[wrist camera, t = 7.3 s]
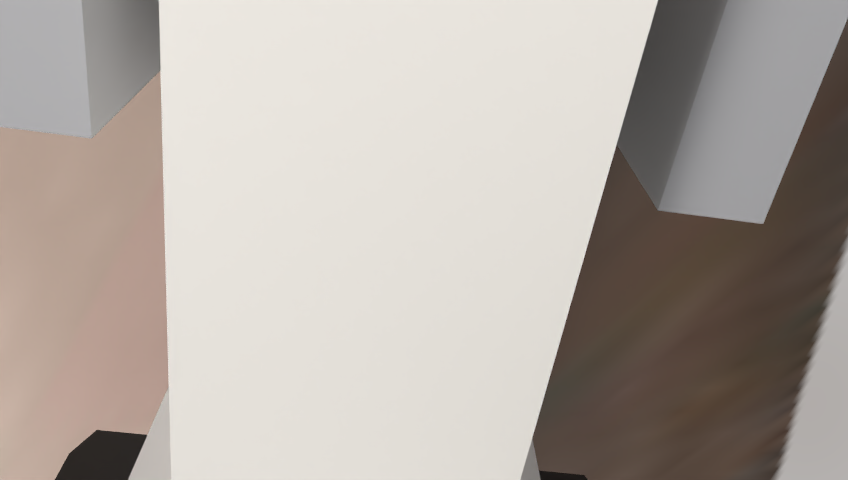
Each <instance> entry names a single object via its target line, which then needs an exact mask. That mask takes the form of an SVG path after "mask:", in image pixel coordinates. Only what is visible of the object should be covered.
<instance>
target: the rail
mask: <svg viewBox="0 0 848 480" xmlns="http://www.w3.org/2000/svg"><path fill="white" fill-rule="evenodd" d="M657 2H658V0H159V27H160V66H161V104H162V143H163V182H164V220H165V259H166V297H167V336H168V374H169V413H170V452H171V480H520V479H521V475H522V472H523V469H524V465H525V462H526V458H527V455H528V451H529V448H530V444H531V441H532V437H533V434H534V430H535V427H536V423H537V420H538V416H539V413H540V409H541V406H542V402H543V399H544V395H545V392H546V388H547V385H548V381H549V378H550V375H551V371H552V368H553V364H554V361H555V357H556V354H557V350H558V347H559V343H560V340H561V336H562V333H563V329H564V326H565V322H566V319H567V315H568V312H569V308H570V305H571V301H572V298H573V294H574V291H575V288H576V284H577V281H578V277H579V274H580V270H581V267H582V263H583V260H584V256H585V253H586V249H587V246H588V242H589V239H590V235H591V232H592V228H593V225H594V221H595V218H596V214H597V211H598V207H599V204H600V201H601V197H602V194H603V190H604V187H605V183H606V180H607V176H608V173H609V169H610V166H611V162H612V159H613V155H614V152H615V148H616V145H617V141H618V138H619V134H620V131H621V127H622V124H623V120H624V117H625V114H626V110H627V107H628V103H629V100H630V96H631V93H632V89H633V86H634V82H635V79H636V75H637V72H638V68H639V65H640V61H641V58H642V54H643V51H644V47H645V44H646V40H647V37H648V33H649V30H650V27H651V23H652V20H653V16H654V13H655V9H656V6H657Z"/></svg>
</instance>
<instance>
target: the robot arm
mask: <svg viewBox="0 0 848 480" xmlns="http://www.w3.org/2000/svg"><path fill="white" fill-rule="evenodd" d="M55 480H171V452H170V413H169V387H168V389H167V392H166V394H165V396H164V399H163V401H162V403H161V405H160V408H159V410H158V412H157V415H156V417H155V419H154V421H153V424H152V426H151V428H150V431H149V433H148V435H142V434H132V433H121V432H111V431H101V430H96V431H95V432H94V433H93V434H92V435H91V436H89V437H88V438H87V439H86V440H85V441H83V442H82V443H81V444H80V445H79V446H78V447H76V448H75V449H74V450H73V451H72V452H71V453H69V455H68V457H67V459H66V461H65V462H64V464H63V466H62V468H61V470H60V471H59V473H58V475H57V477H56V479H55ZM520 480H587V478H586V477H585V476H584V475H576V474H566V473H556V472H546V471H539V469H538V464H537V459H536V454H535V449H534V444H533V439H532V441H531V444H530V448H529V451H528V455H527V458H526V462H525V465H524V469H523V472H522V475H521V479H520Z"/></svg>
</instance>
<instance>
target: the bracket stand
mask: <svg viewBox="0 0 848 480" xmlns="http://www.w3.org/2000/svg"><path fill="white" fill-rule="evenodd" d="M847 19H848V0H658V2H657V6H656V9H655V13H654V16H653V20H652V23H651V27H650V30H649V33H648V37H647V40H646V44H645V47H644V51H643V54H642V58H641V61H640V65H639V68H638V72H637V75H636V79H635V82H634V86H633V89H632V93H631V96H630V100H629V103H628V107H627V110H626V114H625V117H624V120H623V124H622V127H621V131H620V134H619V138H618V141H617V146H618V148H619V149H620V151H621V153H622V154H623V156H624V157H625V159H626V161H627V162H628V164H629V165H630V167H631V169H632V170H633V172H634V173H635V175H636V176H637V178H638V180H639V181H640V183H641V184H642V186H643V188H644V189H645V191H646V192H647V194H648V196H649V197H650V199H651V200H652V202H653V204H654V205H655V207H656V208H657V210H658V211H666V212H673V213H681V214H689V215H697V216H705V217H713V218H721V219H728V220H736V221H744V222H752V223H760V224H763V223H764V220H765V218H766V216H767V213H768V211H769V208H770V206H771V203H772V201H773V199H774V196H775V194H776V191H777V189H778V186H779V184H780V182H781V179H782V177H783V174H784V172H785V169H786V167H787V165H788V162H789V160H790V157H791V155H792V152H793V150H794V148H795V145H796V143H797V140H798V138H799V135H800V133H801V131H802V128H803V126H804V123H805V121H806V118H807V116H808V114H809V111H810V109H811V106H812V104H813V101H814V99H815V97H816V94H817V92H818V89H819V87H820V84H821V82H822V80H823V77H824V75H825V72H826V70H827V68H828V65H829V63H830V60H831V58H832V55H833V53H834V51H835V48H836V46H837V43H838V41H839V38H840V36H841V34H842V31H843V29H844V26H845V24H846V21H847ZM160 70H161V66H160V27H159V0H0V127H6V128H14V129H21V130H29V131H37V132H45V133H53V134H61V135H69V136H76V137H84V138H93V137H94V136H95V135H96V134H97V133H98V132H99V131H100V130H101V129H102V128H103V127H104V126H105V125H106V124H107V123H108V122H109V121H110V120H111V119H112V118H113V117H114V116H115V115H116V114H117V113H118V112H119V111H120V110H121V109H122V108H123V107H124V106H125V105H126V104H127V103H128V102H129V101H130V100H131V99H132V98H133V97H134V96H135V95H136V94H137V93H138V92H139V91H140V90H141V89H142V88H143V87H144V86H145V85H146V84H147V83H148V82H149V81H150V80H151V79H152V78H153V77H154V76H155V75H156V74H157V73H158V72H159V71H160Z"/></svg>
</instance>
